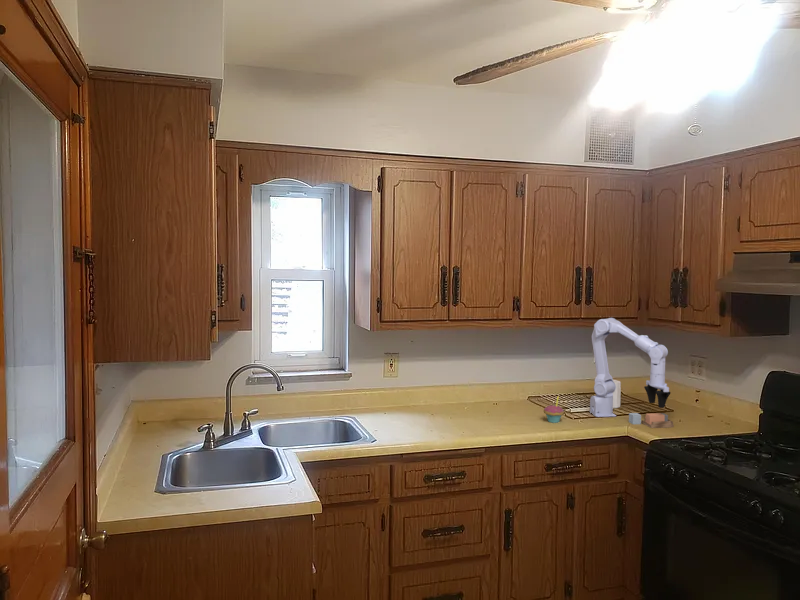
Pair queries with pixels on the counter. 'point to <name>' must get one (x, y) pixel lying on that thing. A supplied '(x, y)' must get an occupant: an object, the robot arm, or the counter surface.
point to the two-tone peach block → (656, 417)
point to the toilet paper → (617, 394)
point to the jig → (658, 424)
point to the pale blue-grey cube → (634, 418)
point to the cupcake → (554, 412)
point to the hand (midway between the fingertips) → (656, 405)
